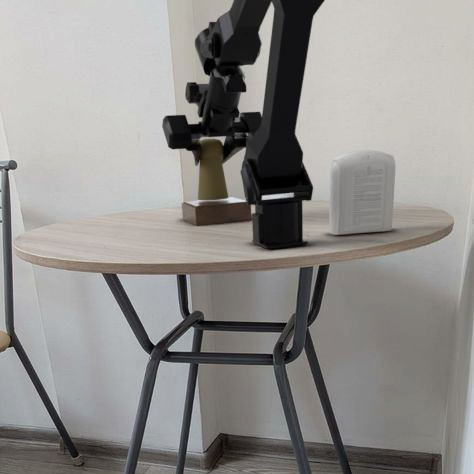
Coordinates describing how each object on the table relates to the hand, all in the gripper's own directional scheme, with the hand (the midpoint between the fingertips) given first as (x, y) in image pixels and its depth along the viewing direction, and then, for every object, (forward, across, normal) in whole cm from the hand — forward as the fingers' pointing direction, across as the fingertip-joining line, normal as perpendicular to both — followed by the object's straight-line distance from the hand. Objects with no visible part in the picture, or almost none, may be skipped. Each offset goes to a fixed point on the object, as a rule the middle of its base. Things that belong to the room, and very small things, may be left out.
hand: (208, 163), depth 113 cm
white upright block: (-14, -15, +30) cm, 37 cm away
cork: (+4, 0, +6) cm, 7 cm away
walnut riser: (+6, 0, +9) cm, 11 cm away
